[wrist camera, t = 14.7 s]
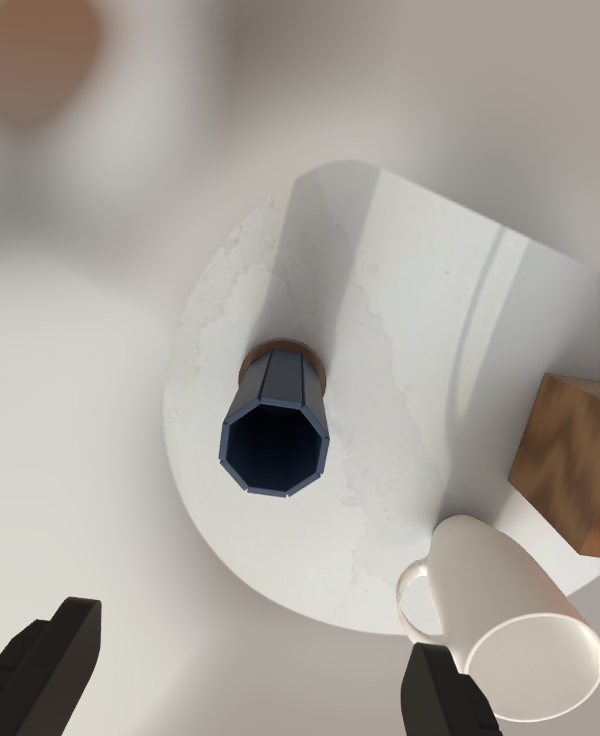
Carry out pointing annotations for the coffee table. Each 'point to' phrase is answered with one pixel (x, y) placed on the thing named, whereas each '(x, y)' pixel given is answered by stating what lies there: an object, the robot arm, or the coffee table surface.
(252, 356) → the coaster
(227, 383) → the coffee table surface
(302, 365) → the slate cup
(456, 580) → the mug
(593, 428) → the riser
